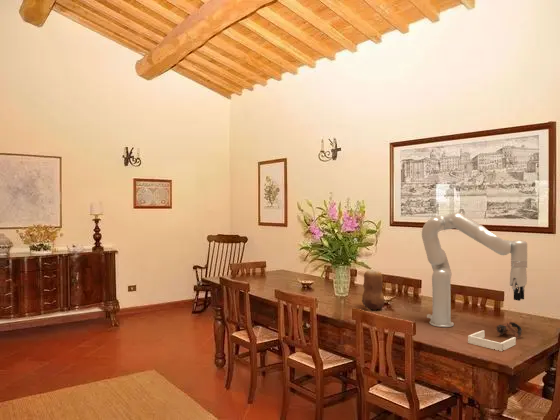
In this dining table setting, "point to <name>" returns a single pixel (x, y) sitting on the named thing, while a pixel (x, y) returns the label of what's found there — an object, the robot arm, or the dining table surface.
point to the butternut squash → (373, 290)
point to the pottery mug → (503, 329)
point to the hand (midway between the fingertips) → (518, 299)
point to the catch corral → (478, 340)
